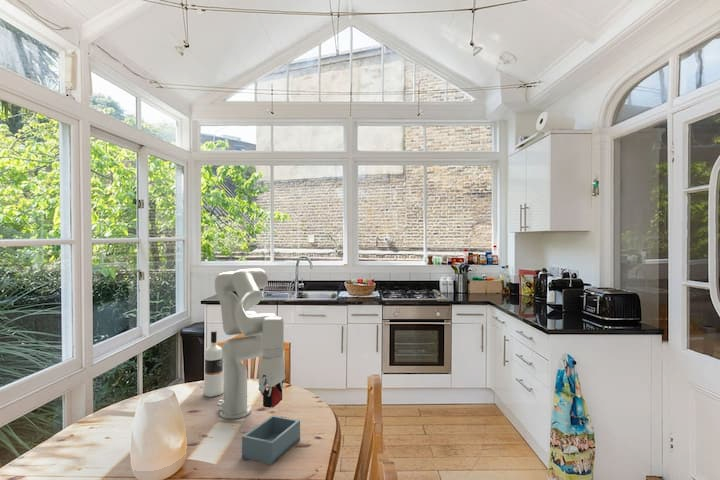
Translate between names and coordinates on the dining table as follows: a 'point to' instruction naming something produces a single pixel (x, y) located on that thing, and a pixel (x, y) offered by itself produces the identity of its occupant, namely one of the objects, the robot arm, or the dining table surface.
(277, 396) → the red round fruit
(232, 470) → the dining table surface
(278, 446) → the blue-grey open box
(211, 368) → the vodka
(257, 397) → the dining table surface
